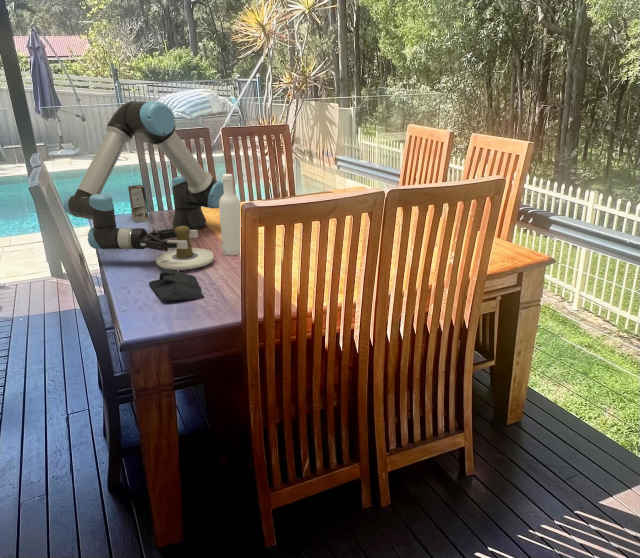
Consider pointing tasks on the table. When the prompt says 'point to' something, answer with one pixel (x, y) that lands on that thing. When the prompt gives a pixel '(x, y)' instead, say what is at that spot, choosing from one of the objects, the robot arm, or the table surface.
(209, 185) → the robot arm
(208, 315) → the table surface
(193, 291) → the dark grey folded cloth
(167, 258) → the turntable
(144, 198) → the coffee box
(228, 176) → the bottle
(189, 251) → the cork
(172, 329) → the table surface
